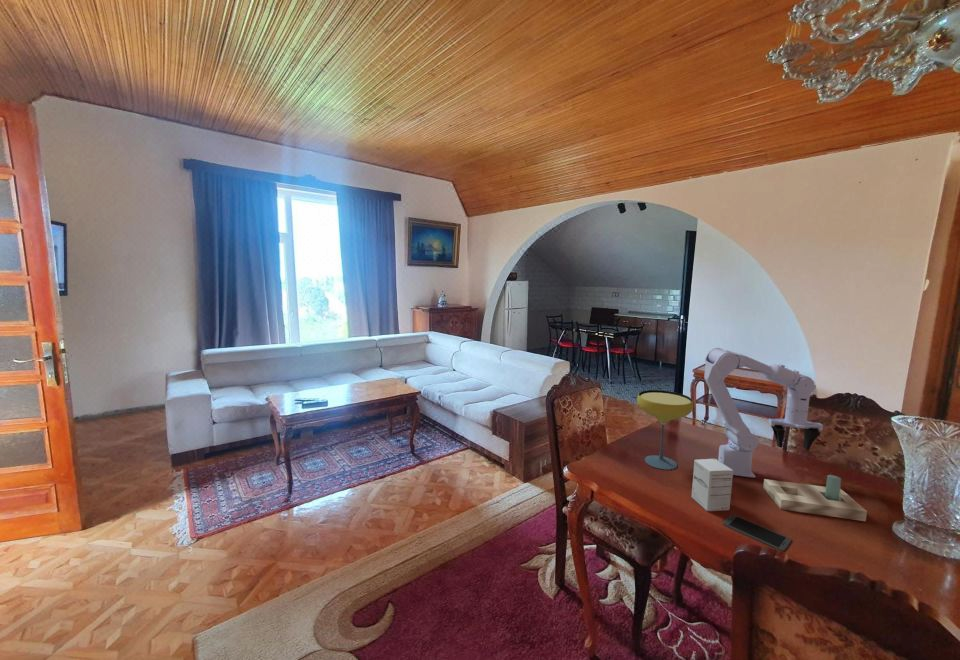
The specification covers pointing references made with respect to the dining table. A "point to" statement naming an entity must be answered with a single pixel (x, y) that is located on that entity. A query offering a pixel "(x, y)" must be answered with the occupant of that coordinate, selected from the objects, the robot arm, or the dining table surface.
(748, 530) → the cell phone
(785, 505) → the hole block
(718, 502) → the supplement box
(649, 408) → the cocktail glass
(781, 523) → the dining table surface
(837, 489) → the peg
